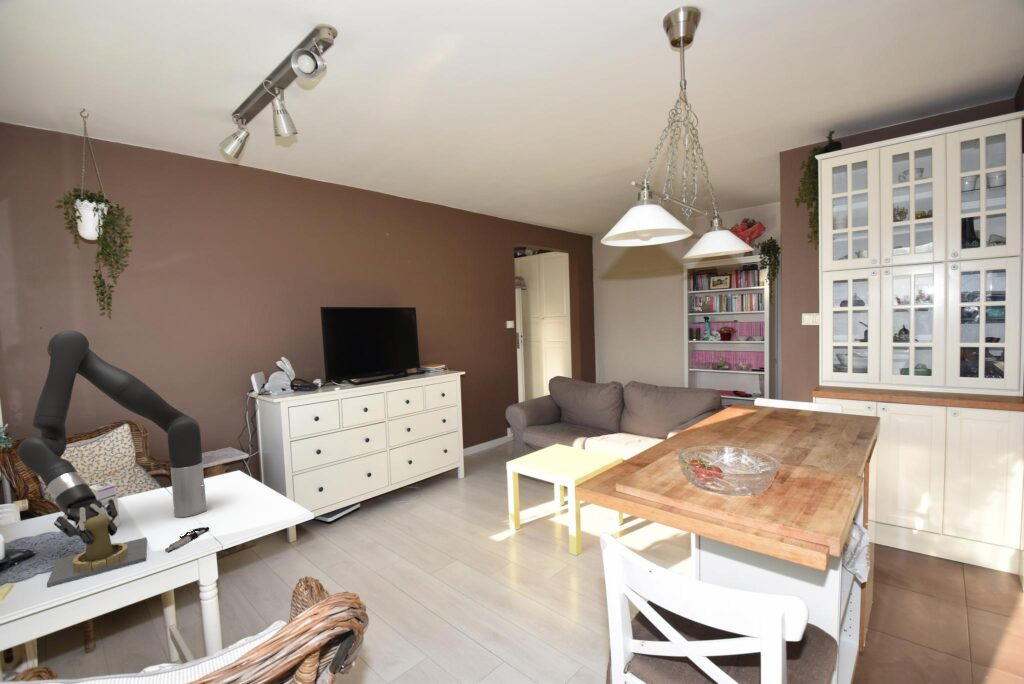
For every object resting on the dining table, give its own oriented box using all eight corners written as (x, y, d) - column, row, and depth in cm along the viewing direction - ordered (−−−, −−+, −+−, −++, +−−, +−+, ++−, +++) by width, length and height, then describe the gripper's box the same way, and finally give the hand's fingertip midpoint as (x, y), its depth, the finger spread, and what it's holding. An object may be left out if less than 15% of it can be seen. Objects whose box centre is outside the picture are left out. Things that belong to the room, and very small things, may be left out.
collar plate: (146, 540, 146) (146, 532, 146) (145, 560, 133) (145, 552, 133) (57, 562, 134) (56, 553, 134) (47, 587, 121) (46, 577, 121)
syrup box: (120, 525, 158) (117, 482, 157) (99, 533, 152) (95, 489, 151) (111, 522, 160) (107, 480, 159) (90, 530, 155) (86, 486, 154)
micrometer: (193, 529, 153) (192, 522, 153) (212, 531, 152) (211, 523, 152) (149, 552, 139) (149, 544, 139) (170, 554, 137) (169, 545, 137)
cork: (96, 550, 136) (94, 513, 135) (118, 549, 136) (116, 512, 136) (79, 561, 130) (76, 522, 129) (102, 560, 130) (99, 520, 130)
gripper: (45, 493, 128) (78, 542, 125) (105, 475, 141) (136, 519, 138) (34, 510, 130) (66, 558, 127) (94, 491, 143) (125, 534, 140)
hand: (103, 538), depth 132 cm, fingers closed on cork, 5 cm apart
